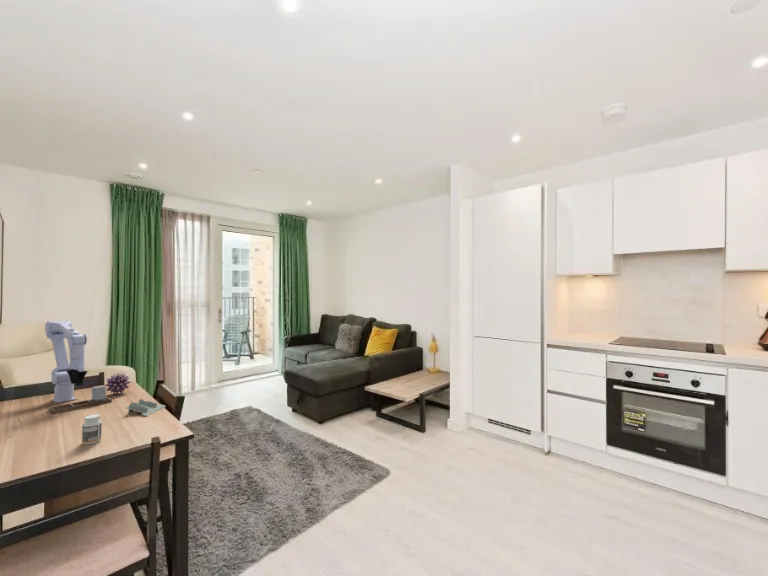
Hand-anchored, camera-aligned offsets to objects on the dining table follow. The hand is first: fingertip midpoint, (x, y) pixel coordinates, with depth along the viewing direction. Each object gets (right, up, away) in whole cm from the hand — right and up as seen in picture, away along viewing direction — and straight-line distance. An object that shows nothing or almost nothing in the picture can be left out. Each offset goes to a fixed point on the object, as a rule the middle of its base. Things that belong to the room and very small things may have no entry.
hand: (76, 384), depth 183 cm
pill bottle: (+46, -10, -46) cm, 65 cm away
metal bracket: (+41, -11, -10) cm, 44 cm away
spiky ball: (+6, -11, +19) cm, 23 cm away
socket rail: (+5, -10, -3) cm, 12 cm away
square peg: (+9, -10, +3) cm, 14 cm away
